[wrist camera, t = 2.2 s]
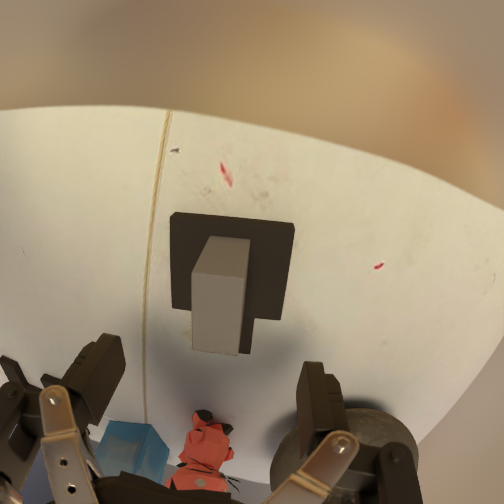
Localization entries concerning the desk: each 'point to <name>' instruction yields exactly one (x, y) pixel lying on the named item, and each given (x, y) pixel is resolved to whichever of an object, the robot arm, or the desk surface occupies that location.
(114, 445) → the perfume bottle
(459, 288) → the desk surface
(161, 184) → the desk surface
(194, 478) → the cat figurine
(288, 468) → the bowl
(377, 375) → the desk surface
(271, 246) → the tab pad
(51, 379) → the notch pad
